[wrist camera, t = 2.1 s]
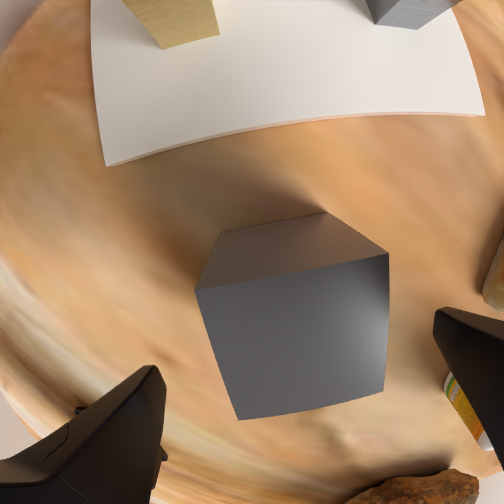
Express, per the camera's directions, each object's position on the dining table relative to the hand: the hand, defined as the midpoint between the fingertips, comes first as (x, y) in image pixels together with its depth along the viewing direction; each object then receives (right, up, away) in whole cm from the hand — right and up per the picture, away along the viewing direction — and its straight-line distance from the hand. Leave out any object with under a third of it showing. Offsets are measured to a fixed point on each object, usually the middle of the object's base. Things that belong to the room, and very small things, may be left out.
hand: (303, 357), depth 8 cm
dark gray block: (0, +2, +6) cm, 7 cm away
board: (+1, +15, +2) cm, 15 cm away
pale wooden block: (-4, +14, +2) cm, 14 cm away
